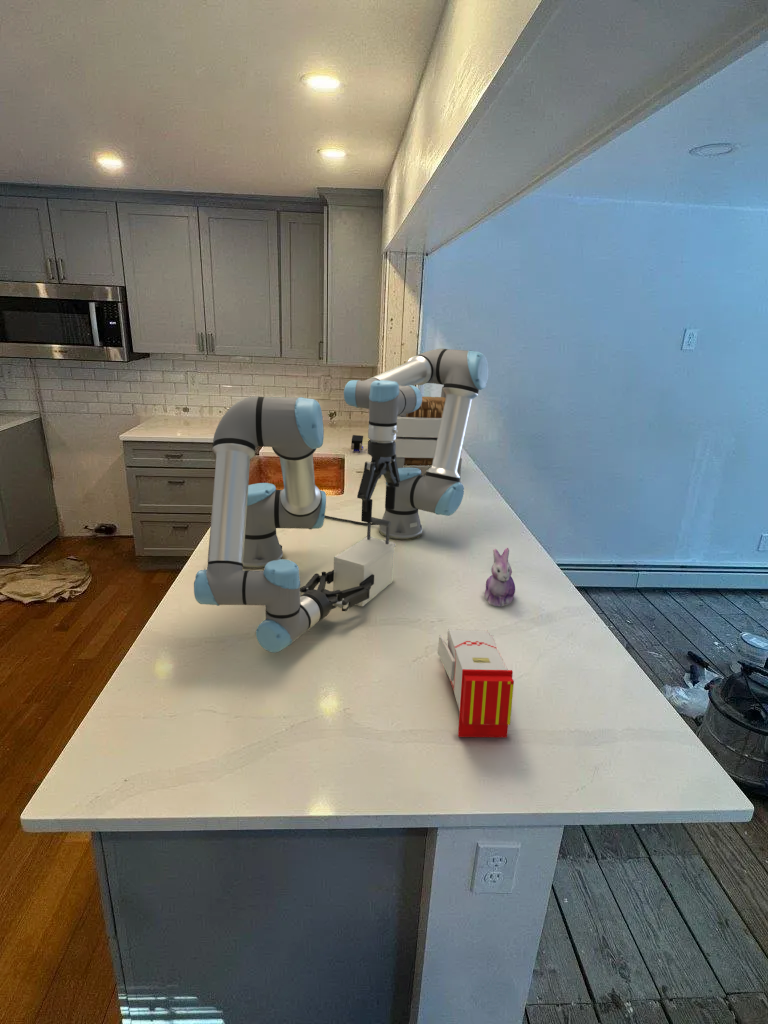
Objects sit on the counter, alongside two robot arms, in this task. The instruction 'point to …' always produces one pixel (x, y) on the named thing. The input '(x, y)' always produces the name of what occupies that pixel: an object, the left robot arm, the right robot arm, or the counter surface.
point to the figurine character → (356, 443)
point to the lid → (367, 548)
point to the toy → (478, 682)
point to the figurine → (500, 581)
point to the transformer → (420, 433)
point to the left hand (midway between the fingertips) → (356, 574)
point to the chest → (365, 575)
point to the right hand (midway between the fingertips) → (378, 515)
